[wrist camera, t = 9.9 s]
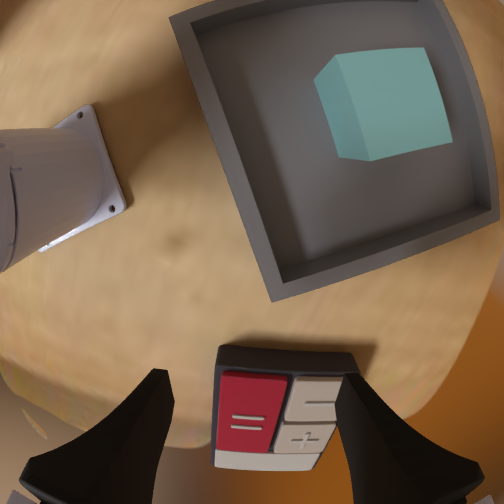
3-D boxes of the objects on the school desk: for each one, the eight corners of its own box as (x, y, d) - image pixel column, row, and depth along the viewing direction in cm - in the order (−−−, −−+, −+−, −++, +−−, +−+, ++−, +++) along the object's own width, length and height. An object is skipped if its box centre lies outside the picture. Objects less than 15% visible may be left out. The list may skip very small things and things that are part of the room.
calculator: (365, 377, 18) (314, 474, 23) (350, 345, 23) (309, 446, 27) (213, 370, 18) (209, 471, 22) (219, 336, 22) (213, 441, 27)
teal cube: (338, 157, 16) (370, 161, 11) (313, 79, 14) (335, 54, 10) (407, 140, 15) (452, 142, 11) (384, 68, 14) (423, 47, 9)
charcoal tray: (269, 284, 19) (271, 302, 17) (179, 32, 14) (168, 17, 11) (480, 211, 17) (499, 219, 15) (417, -5, 12) (432, -17, 9)
